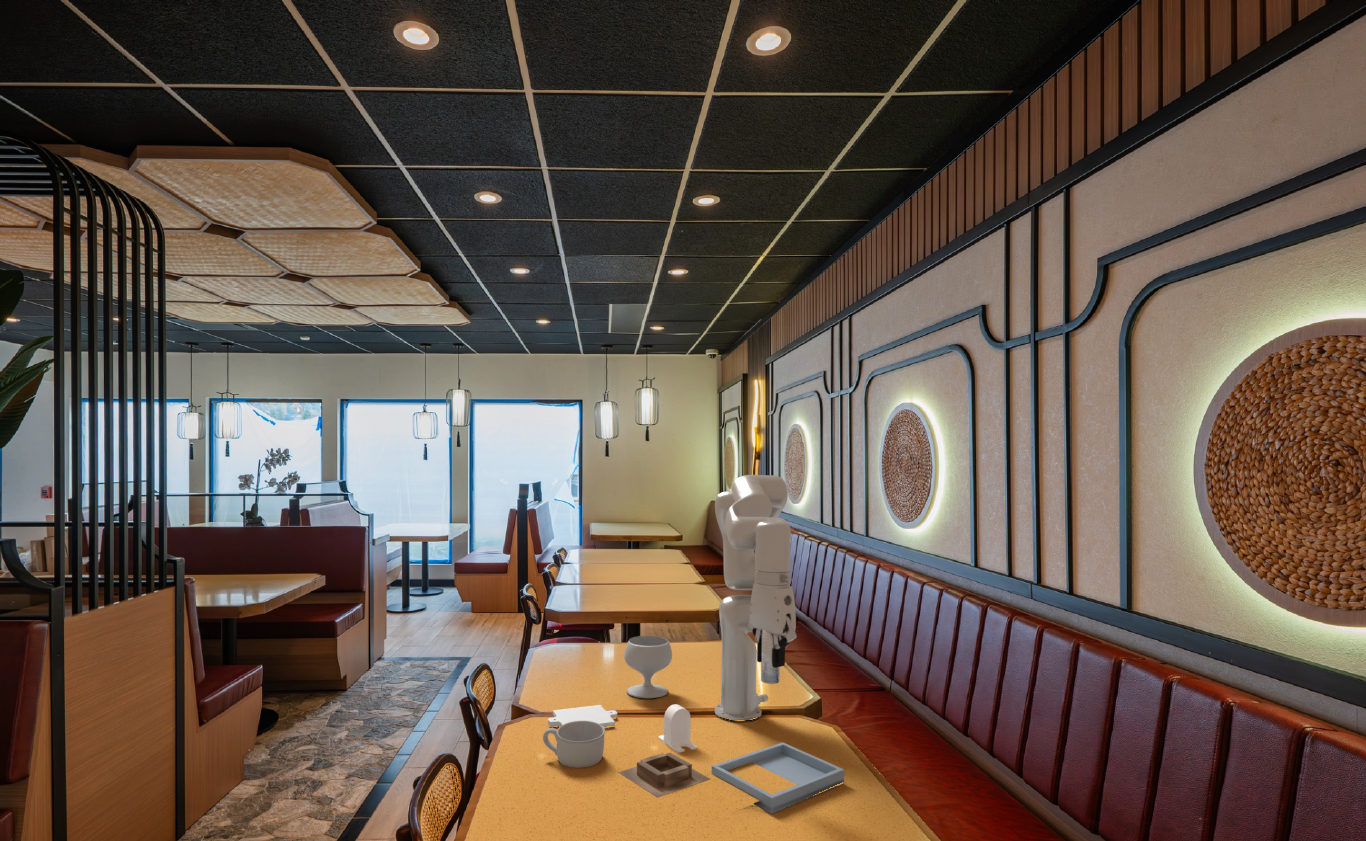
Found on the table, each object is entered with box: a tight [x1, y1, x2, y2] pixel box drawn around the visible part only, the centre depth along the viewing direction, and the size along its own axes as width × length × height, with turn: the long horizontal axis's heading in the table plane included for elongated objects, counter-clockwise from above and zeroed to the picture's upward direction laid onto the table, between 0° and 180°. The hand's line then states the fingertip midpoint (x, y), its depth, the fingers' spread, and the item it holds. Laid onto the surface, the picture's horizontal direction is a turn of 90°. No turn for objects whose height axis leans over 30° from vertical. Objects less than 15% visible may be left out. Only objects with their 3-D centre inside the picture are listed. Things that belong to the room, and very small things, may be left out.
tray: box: [711, 741, 845, 815], centre depth 156 cm, size 22×18×3 cm
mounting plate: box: [547, 704, 618, 728], centre depth 188 cm, size 18×13×2 cm
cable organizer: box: [657, 703, 698, 754], centre depth 172 cm, size 5×10×10 cm, turn 31°
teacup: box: [542, 721, 606, 769], centre depth 162 cm, size 14×11×8 cm
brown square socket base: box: [618, 752, 711, 798], centre depth 154 cm, size 14×14×4 cm
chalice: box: [623, 635, 673, 699], centre depth 212 cm, size 14×14×15 cm
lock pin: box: [760, 629, 781, 685], centre depth 157 cm, size 4×4×12 cm
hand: (770, 662), depth 157 cm, fingers closed on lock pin, 4 cm apart
